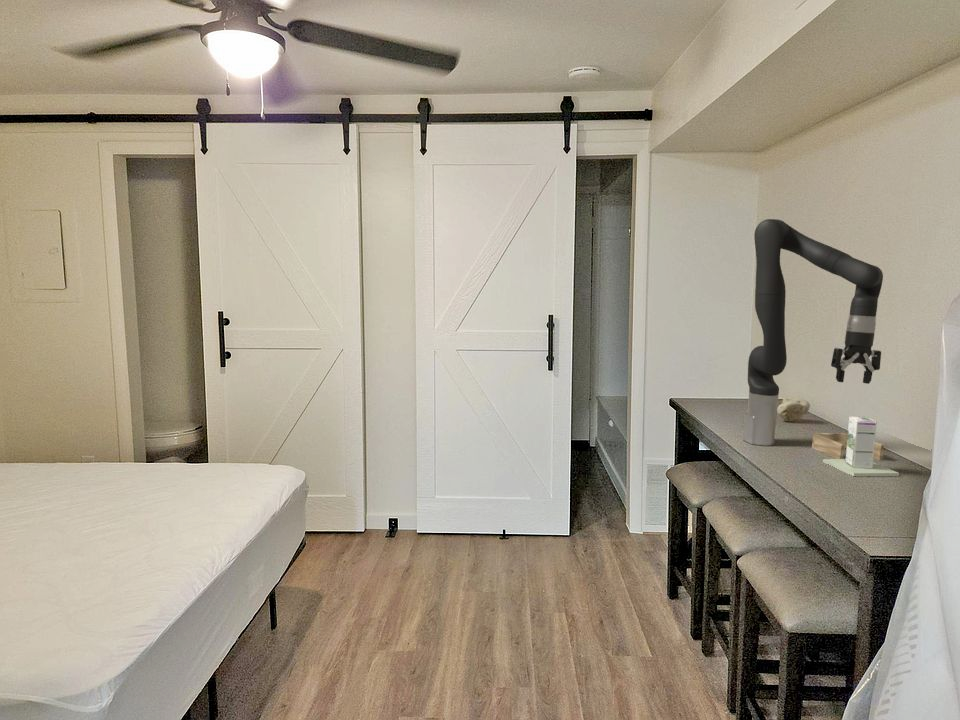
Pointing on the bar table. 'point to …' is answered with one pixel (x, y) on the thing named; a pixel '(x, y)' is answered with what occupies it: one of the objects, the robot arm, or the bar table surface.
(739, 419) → the bar table surface
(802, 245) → the robot arm
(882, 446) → the u-shaped pine frame
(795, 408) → the decorative item
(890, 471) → the sage mat
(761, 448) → the bar table surface
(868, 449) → the syrup box
